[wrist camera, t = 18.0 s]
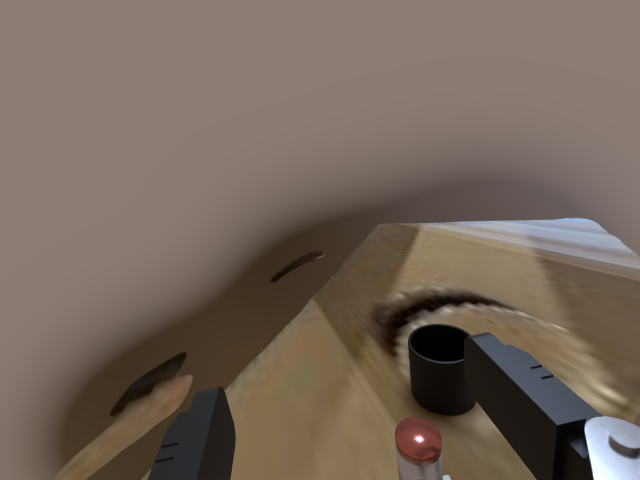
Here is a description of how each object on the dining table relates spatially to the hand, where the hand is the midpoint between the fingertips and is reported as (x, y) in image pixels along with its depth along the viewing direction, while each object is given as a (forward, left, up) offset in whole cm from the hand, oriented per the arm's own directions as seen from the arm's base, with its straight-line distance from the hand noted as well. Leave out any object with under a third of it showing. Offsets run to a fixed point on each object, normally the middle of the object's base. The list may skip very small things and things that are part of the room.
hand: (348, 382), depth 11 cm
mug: (-18, -31, -32) cm, 48 cm away
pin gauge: (-6, -11, -31) cm, 34 cm away
